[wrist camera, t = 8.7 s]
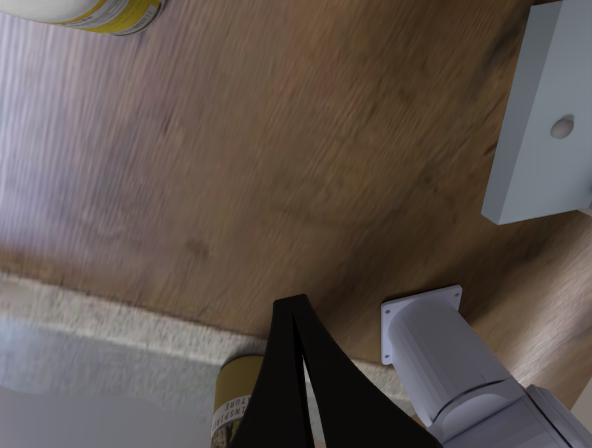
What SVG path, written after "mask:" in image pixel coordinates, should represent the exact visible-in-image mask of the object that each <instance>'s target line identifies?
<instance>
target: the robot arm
mask: <svg viewBox="0 0 592 448" xmlns="http://www.w3.org/2000/svg"><path fill="white" fill-rule="evenodd" d="M461 294H462V288H461V286H460V285H454V286H450V287H446V288H442V289H437V290H433V291H429V292H425V293H421V294H417V295H412V296H408V297H404V298H400V299H396V300H392V301H387V302H384V303H383V304H382V306H381V356H382V362H383V364H390V363H392V364H393V366H394V368H395V370H396V372H397V374H398V376H399V378H400V380H401V382H402V384H403V386H404V388H405V390H406V392H407V394H408V396H409V398H410V400H411V402H412V405H413V407H414V409H415V411H416V413H417V414H418V416H419V418H420V419H421V421H422V422H423V423H424V424H425V425H426V426H427V430H426V429H424V428H423V427H422V426H421V425H419V424H418V423H417V422H416V421H414V420H413V419H412V418H411V417H409V416H408V415H407V414H406V413H405V412H404V411H402V410H401V409H400V408H399V407H398V406H397V405H395V404H394V403H393V402H392V401H391V400H390V399H389V398H388V397H387V396H386V395H385V394H383V393H382V392H381V391H380V390H379V389H378V388H377V387H376V386H375V385H374V384H373V383H372V382H371V381H370V380H369V379H368V378H367V377H366V376H365V375H364V374H363V373H362V372H361V371H360V370H359V369H358V368H357V367H356V366H355V365H354V363H353V362H352V361H351V360H350V359H349V358H348V357H347V355H346V354H345V353H344V352H343V351H342V349H341V348H340V347H339V346H338V344H337V343H336V342H335V341H334V339H333V338H332V337H331V335H330V334H329V333H328V331H327V330H326V328H325V327H324V325H323V324H322V323H321V321H320V319H319V318H318V316H317V315H316V313H315V311H314V310H313V308H312V306H311V304H310V302H309V300H308V297H307V295H306V294H300V295H296V296H292V297H287V298H283V299H279V300H275V301H274V303H273V315H272V322H271V328H270V333H269V338H268V342H267V347H266V351H265V354H264V358H263V361H262V365H261V368H260V371H259V375H258V378H257V381H256V383H255V386H254V389H253V392H252V395H251V397H250V400H249V402H248V405H247V407H246V410H245V412H244V414H243V417H242V419H241V421H240V424H239V426H238V428H237V430H236V432H235V434H234V436H233V439H232V441H231V443H230V445H229V447H228V448H315V445H314V439H313V434H312V429H311V424H310V417H309V410H308V402H307V393H306V384H305V375H304V366H303V358H304V361H305V365H306V368H307V371H308V375H309V378H310V381H311V385H312V388H313V391H314V395H315V398H316V401H317V405H318V409H319V414H320V419H321V424H322V428H323V433H324V438H325V443H326V447H327V448H592V434H590V432H589V431H588V430H587V429H586V428H585V427H584V426H583V425H582V424H581V423H580V422H579V421H578V419H577V418H576V417H575V416H574V415H573V414H572V413H571V412H570V411H569V410H568V409H567V408H566V407H565V406H564V405H563V404H562V403H561V402H560V401H559V400H558V399H557V398H556V397H555V396H554V395H553V394H552V393H551V392H550V391H549V390H548V389H545V388H542V387H537V386H536V385H533V384H531V385H530V386H529V387H527V388H526V389H525V388H524V387H523V386H522V385H520V384H519V383H518V382H517V381H516V379H515V378H514V377H513V376H512V375H511V374H510V372H509V371H508V370H507V369H506V368H505V367H504V365H503V364H502V363H501V362H500V361H499V359H498V358H497V357H496V356H495V355H494V354H493V352H492V351H491V350H490V349H489V348H488V347H487V345H486V344H485V343H484V342H483V341H482V340H481V338H480V337H479V336H478V335H477V334H476V332H475V331H474V330H473V329H472V328H471V327H470V325H469V324H468V323H467V322H466V321H465V320H464V318H463V317H462V316H461V315H460V314H459V313H458V310H459V304H460V299H461ZM302 354H303V357H302Z"/></svg>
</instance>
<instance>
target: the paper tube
mask: <svg viewBox="0 0 592 448" xmlns="http://www.w3.org/2000/svg"><path fill="white" fill-rule="evenodd" d="M263 358H264V356H258V355H252V356H245V357H241V358H238V359H235V360H233V361H231V362H229V363H228V364H227V365H225V366H224V367H223V369H222V370H221V371H220V373H219V374H218V377H217V380H216V390H215V402H214V414H213V422H212V433H211V445H210V446H211V447H210V448H228V447H229V445H230V443H231V441H232V439H233V436H234V434H235V432H236V430H237V428H238V426H239V424H240V421H241V419H242V417H243V414H244V412H245V410H246V407H247V405H248V402H249V400H250V397H251V395H252V392H253V389H254V386H255V383H256V381H257V378H258V375H259V371H260V368H261V365H262V361H263Z"/></svg>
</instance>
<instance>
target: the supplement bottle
mask: <svg viewBox="0 0 592 448" xmlns="http://www.w3.org/2000/svg"><path fill="white" fill-rule="evenodd" d="M164 4H165V0H0V12H3V13H6V14H9V15H12V16H15V17H19V18H23V19H26V20H30V21H35V22H40V23H47V24H52V25H58V26H64V27H69V28H74V29H80V30H85V31H91V32H96V33H102V34H109V35H116V36H125V35H133V34H136V33H139V32H141V31H143V30H145V29H147V28H148V27H149V26H151V25H152V24H153V23H154V22H155V21H156V19H157V18H158V17H159V15H160V13H161V11H162V9H163V7H164Z"/></svg>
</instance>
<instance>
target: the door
mask: <svg viewBox="0 0 592 448" xmlns="http://www.w3.org/2000/svg"><path fill="white" fill-rule="evenodd" d="M591 200H592V0H563V1H557V2H552V3H546V4H541V5H536V6H531V10H530V14H529V18H528V22H527V26H526V30H525V34H524V38H523V42H522V47H521V51H520V55H519V59H518V63H517V67H516V71H515V75H514V79H513V83H512V87H511V91H510V96H509V100H508V104H507V108H506V112H505V116H504V120H503V124H502V128H501V132H500V136H499V140H498V145H497V149H496V153H495V157H494V161H493V165H492V169H491V173H490V177H489V181H488V185H487V189H486V194H485V198H484V202H483V206H482V210H481V214H482V215H483V216H485V217H486V218H488V219H489V220H491V221H492V222H494V223H495V224H497V225H501V224H506V223H511V222H517V221H522V220H527V219H532V218H537V217H542V216H547V215H552V214H557V213H562V212H567V211H573V210H578V209H583V208H588V207H589V205H590V202H591Z"/></svg>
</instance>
